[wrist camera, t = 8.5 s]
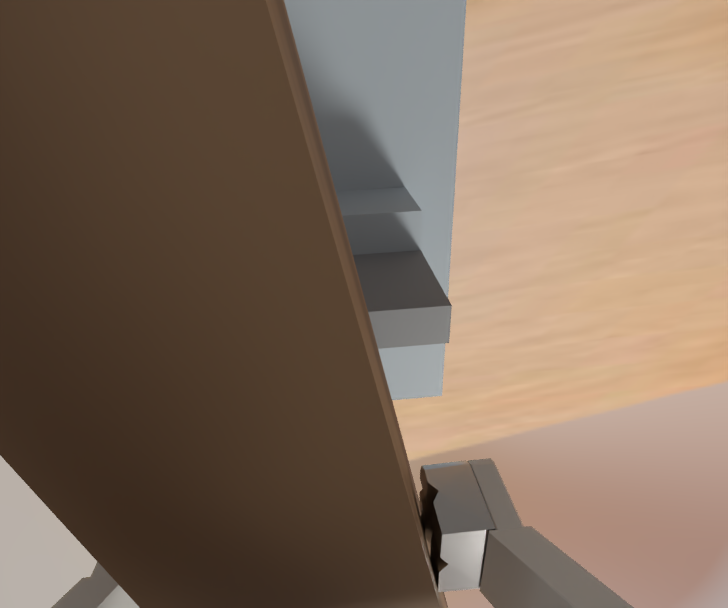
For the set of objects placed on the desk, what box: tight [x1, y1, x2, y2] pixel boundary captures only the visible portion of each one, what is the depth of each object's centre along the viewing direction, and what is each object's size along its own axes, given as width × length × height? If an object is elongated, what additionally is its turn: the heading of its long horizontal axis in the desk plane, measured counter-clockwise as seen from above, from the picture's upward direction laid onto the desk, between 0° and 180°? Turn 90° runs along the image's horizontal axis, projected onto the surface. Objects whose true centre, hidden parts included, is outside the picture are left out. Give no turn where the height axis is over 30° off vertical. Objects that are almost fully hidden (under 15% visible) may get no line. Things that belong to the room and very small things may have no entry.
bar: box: [0, 0, 448, 608], centre depth 9 cm, size 4×22×5 cm, turn 13°
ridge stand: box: [284, 0, 466, 400], centre depth 20 cm, size 14×22×10 cm, turn 2°
